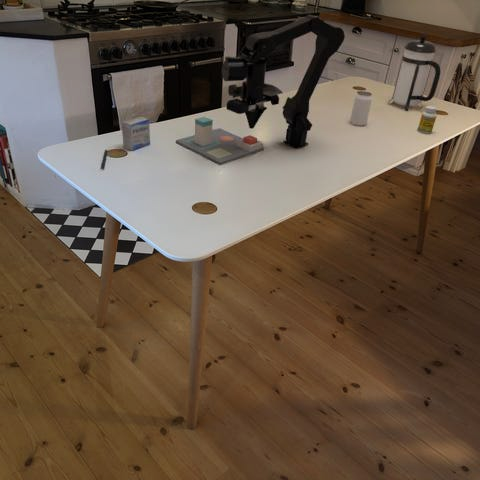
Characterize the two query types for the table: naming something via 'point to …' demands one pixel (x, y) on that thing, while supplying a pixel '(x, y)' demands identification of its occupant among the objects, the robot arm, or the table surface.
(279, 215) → the table surface
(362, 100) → the can
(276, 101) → the robot arm
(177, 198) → the table surface
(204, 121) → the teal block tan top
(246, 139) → the button
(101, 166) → the pencil
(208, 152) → the picture board
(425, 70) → the coffee press
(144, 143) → the medicine box
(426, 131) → the supplement bottle
